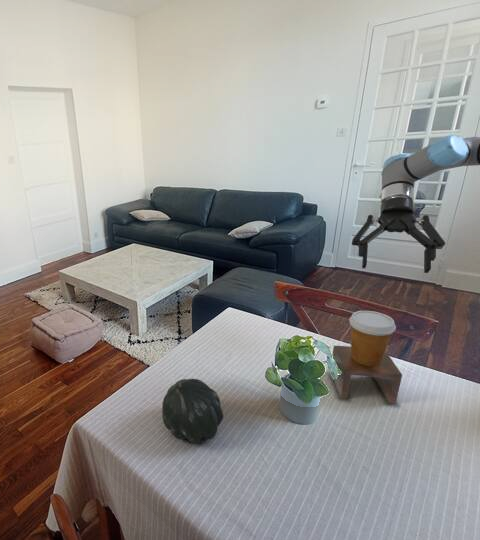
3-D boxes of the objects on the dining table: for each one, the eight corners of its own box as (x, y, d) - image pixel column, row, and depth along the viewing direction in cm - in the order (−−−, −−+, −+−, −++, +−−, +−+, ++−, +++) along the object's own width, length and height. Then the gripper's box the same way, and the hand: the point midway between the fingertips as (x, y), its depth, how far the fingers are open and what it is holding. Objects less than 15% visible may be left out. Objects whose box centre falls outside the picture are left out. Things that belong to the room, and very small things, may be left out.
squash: (234, 394, 86) (193, 355, 85) (234, 444, 73) (185, 399, 72) (193, 416, 93) (155, 380, 92) (187, 465, 80) (141, 424, 79)
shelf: (379, 376, 94) (384, 348, 91) (395, 404, 85) (402, 374, 81) (330, 371, 98) (333, 345, 95) (340, 397, 88) (345, 369, 85)
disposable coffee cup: (387, 375, 82) (396, 332, 78) (341, 362, 88) (347, 322, 84) (389, 354, 89) (397, 314, 84) (346, 344, 94) (352, 306, 90)
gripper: (449, 210, 95) (451, 278, 89) (344, 210, 108) (339, 270, 102) (459, 194, 89) (462, 266, 83) (347, 196, 102) (341, 259, 96)
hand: (394, 268), depth 92 cm, fingers open, 13 cm apart
